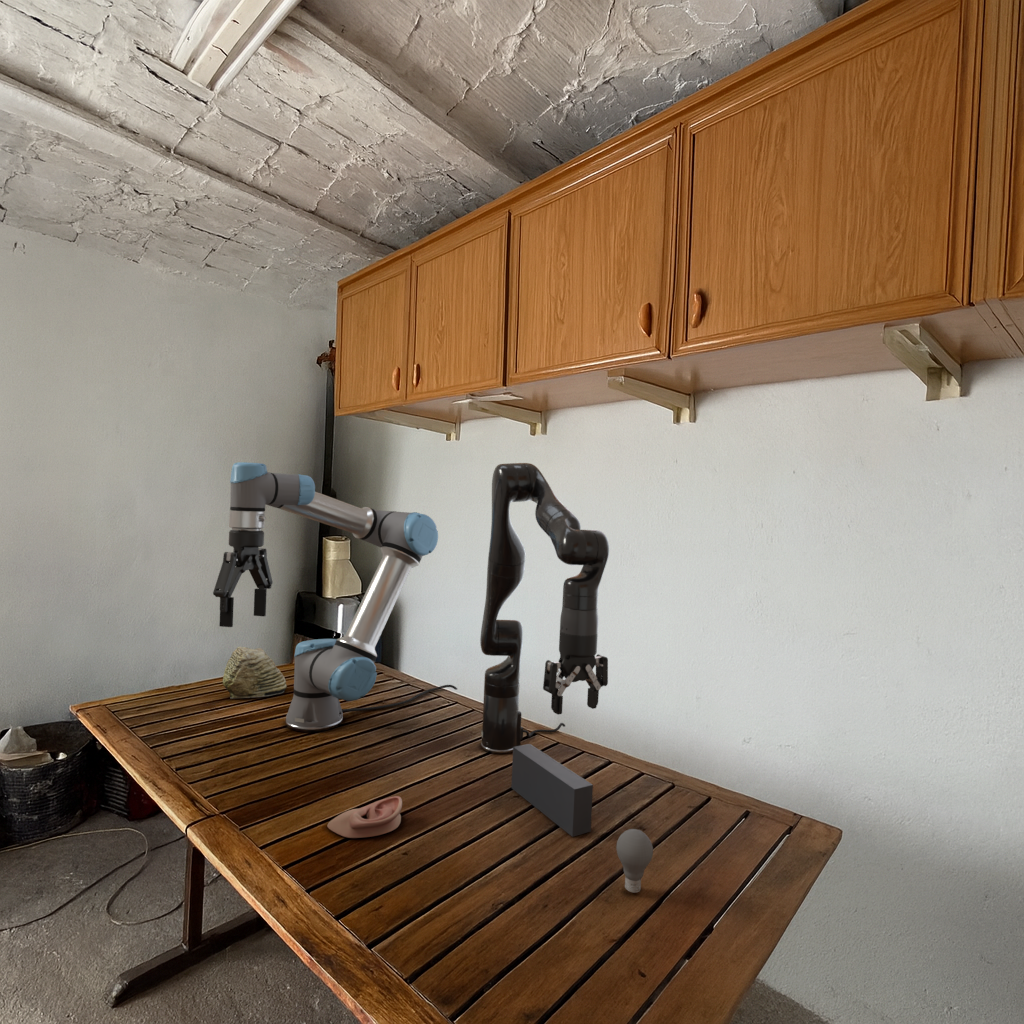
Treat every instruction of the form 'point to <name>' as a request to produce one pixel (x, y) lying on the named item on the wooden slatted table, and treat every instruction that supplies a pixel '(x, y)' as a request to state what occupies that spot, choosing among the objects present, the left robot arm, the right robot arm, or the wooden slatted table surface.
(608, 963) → the wooden slatted table surface
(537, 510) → the right robot arm
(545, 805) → the bar
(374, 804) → the anatomical model
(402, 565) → the left robot arm
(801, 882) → the wooden slatted table surface
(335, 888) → the wooden slatted table surface
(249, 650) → the fossil
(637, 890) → the light bulb
